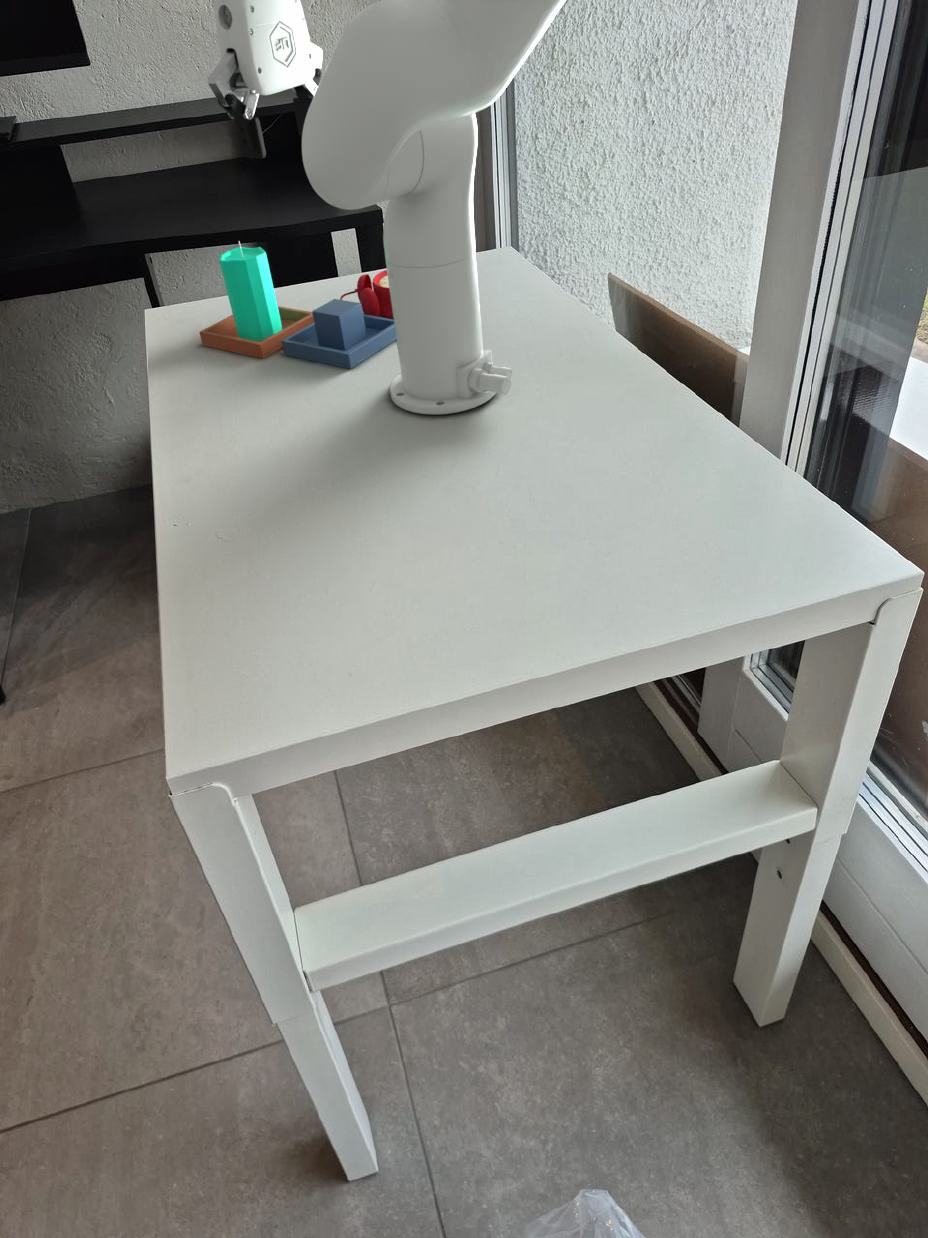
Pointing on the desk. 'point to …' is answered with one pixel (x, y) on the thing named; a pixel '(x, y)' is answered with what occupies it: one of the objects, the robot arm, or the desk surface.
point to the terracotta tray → (227, 339)
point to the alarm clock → (374, 295)
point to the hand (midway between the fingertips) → (283, 146)
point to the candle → (251, 293)
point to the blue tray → (308, 348)
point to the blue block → (339, 324)
